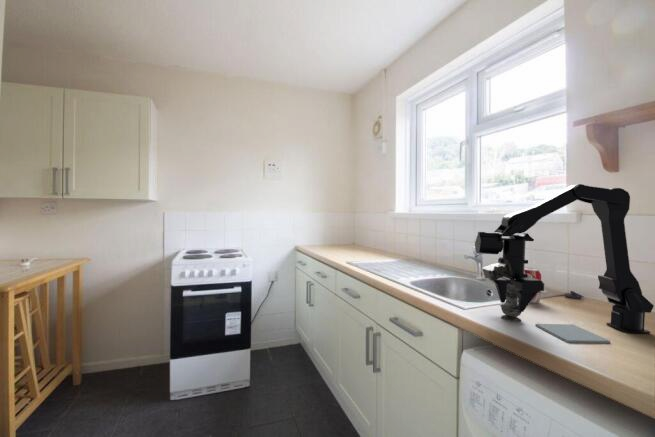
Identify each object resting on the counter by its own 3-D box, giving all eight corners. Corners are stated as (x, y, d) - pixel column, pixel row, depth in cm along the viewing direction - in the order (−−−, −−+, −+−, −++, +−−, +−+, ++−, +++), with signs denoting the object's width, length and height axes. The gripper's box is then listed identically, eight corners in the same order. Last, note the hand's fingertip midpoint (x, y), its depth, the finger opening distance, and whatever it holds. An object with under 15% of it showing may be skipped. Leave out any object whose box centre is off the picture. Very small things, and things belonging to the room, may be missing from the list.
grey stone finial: (501, 314, 95) (503, 276, 95) (523, 318, 92) (525, 279, 91) (498, 319, 91) (499, 279, 90) (521, 324, 87) (522, 282, 87)
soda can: (515, 301, 111) (516, 268, 110) (519, 297, 116) (520, 266, 115) (538, 305, 106) (539, 271, 105) (541, 301, 111) (543, 269, 111)
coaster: (572, 326, 86) (573, 324, 86) (610, 343, 75) (610, 340, 75) (535, 325, 86) (535, 323, 86) (567, 342, 75) (567, 340, 75)
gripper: (471, 250, 100) (469, 297, 100) (506, 259, 81) (504, 317, 82) (504, 251, 100) (502, 298, 100) (547, 260, 81) (544, 318, 82)
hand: (511, 306), depth 91 cm, fingers closed on grey stone finial, 8 cm apart
